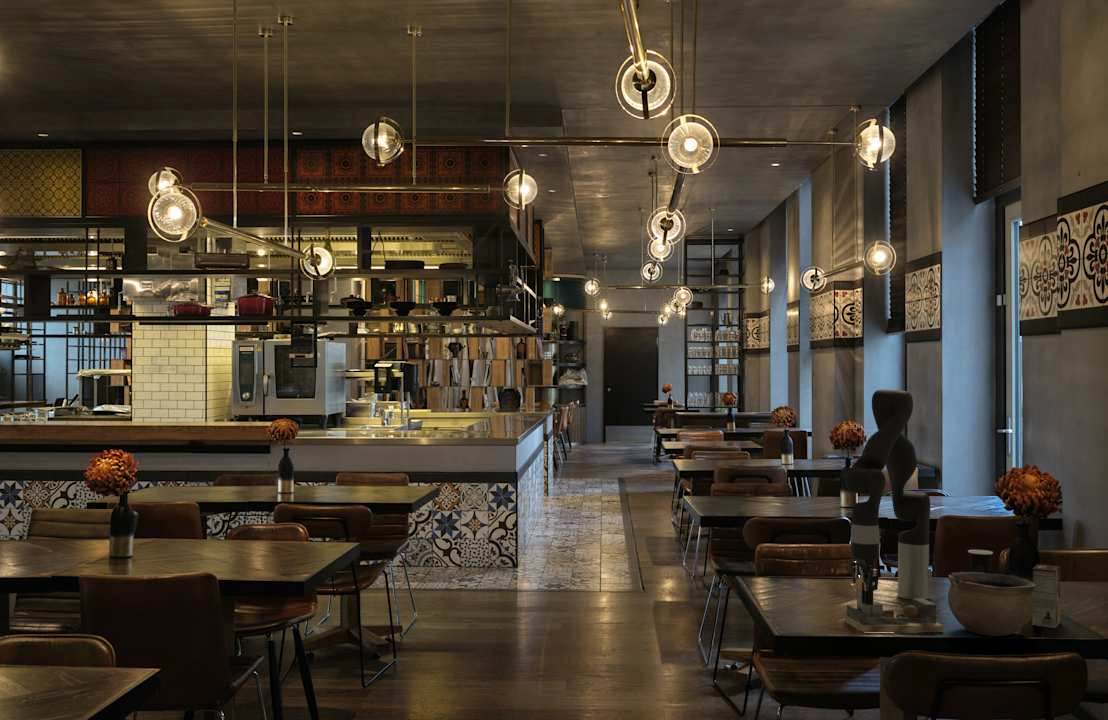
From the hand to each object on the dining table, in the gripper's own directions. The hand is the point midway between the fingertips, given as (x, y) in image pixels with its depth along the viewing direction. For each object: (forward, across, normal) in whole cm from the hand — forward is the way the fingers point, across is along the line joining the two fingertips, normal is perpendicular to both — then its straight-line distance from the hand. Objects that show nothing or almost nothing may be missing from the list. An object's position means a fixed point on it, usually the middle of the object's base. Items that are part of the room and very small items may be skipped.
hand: (864, 602), depth 285 cm
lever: (+5, 0, -1) cm, 5 cm away
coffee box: (+7, +2, -54) cm, 55 cm away
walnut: (+5, 0, -13) cm, 14 cm away
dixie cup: (+7, +60, -66) cm, 90 cm away
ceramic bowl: (+7, -8, -32) cm, 34 cm away
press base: (+7, 0, -8) cm, 11 cm away
